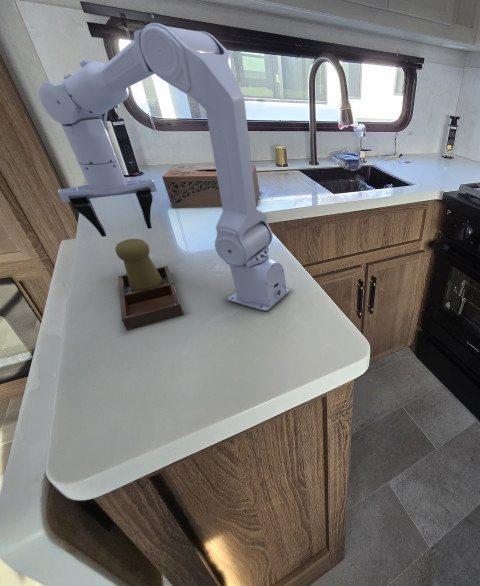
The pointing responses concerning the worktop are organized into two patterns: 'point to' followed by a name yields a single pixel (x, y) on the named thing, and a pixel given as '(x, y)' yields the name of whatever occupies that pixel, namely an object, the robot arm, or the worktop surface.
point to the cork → (138, 264)
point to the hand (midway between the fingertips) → (127, 230)
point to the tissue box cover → (197, 186)
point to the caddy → (148, 302)
